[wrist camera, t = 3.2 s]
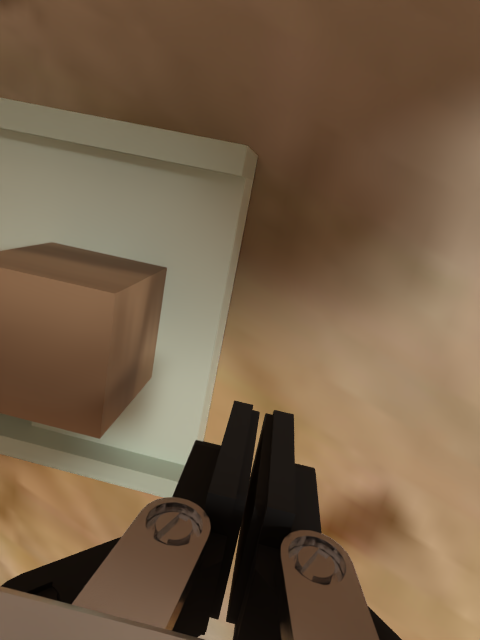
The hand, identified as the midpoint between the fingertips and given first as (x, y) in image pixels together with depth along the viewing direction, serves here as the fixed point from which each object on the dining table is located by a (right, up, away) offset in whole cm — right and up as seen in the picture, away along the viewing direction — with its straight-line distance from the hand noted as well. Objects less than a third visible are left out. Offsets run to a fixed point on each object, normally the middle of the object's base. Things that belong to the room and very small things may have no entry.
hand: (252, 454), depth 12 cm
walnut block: (-6, +4, +7) cm, 10 cm away
